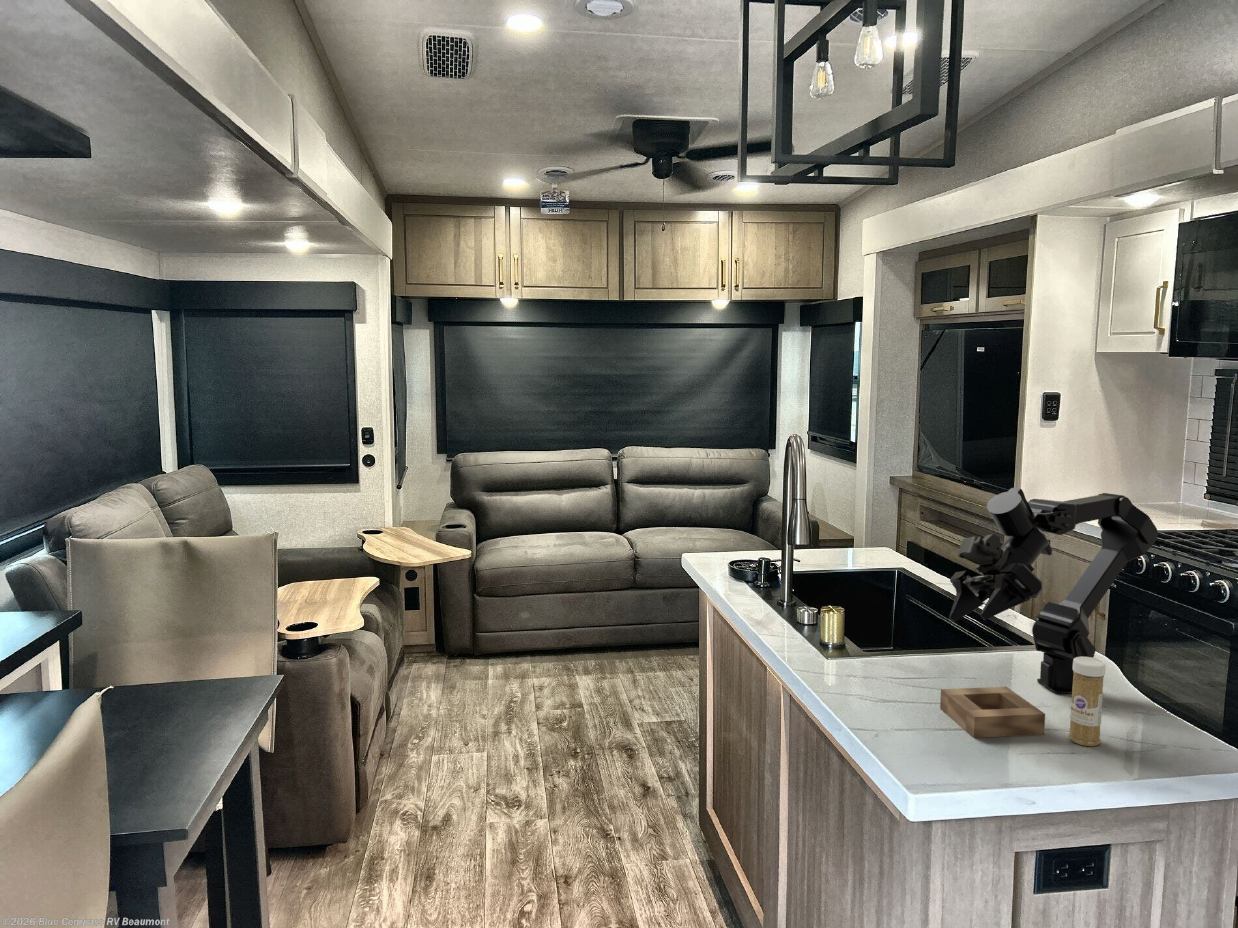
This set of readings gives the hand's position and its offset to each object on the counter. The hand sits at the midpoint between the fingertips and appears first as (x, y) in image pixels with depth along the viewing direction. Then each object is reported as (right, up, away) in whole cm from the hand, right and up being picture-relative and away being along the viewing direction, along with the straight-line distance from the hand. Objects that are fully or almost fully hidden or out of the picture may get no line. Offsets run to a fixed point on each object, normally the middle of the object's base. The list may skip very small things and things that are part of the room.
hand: (966, 618), depth 147 cm
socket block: (+4, -17, -1) cm, 18 cm away
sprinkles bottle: (+16, -18, -9) cm, 26 cm away
